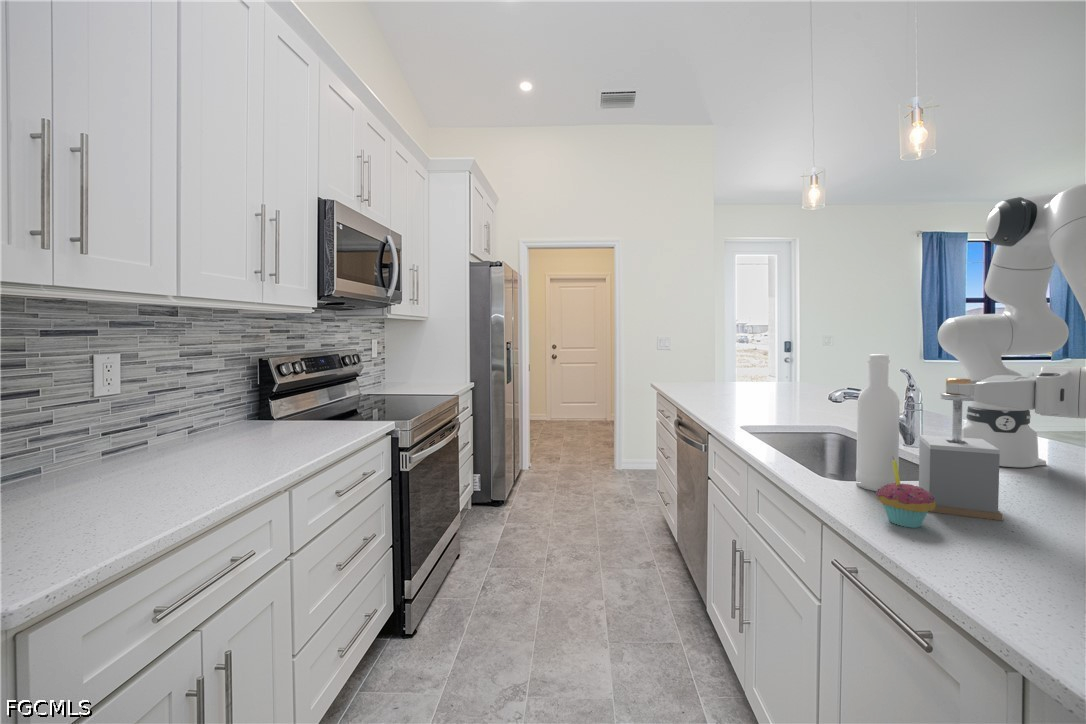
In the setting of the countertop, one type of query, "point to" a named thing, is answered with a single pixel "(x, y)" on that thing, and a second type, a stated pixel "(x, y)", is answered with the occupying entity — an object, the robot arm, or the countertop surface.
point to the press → (960, 476)
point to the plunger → (957, 407)
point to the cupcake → (905, 502)
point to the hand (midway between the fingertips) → (952, 386)
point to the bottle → (877, 428)
